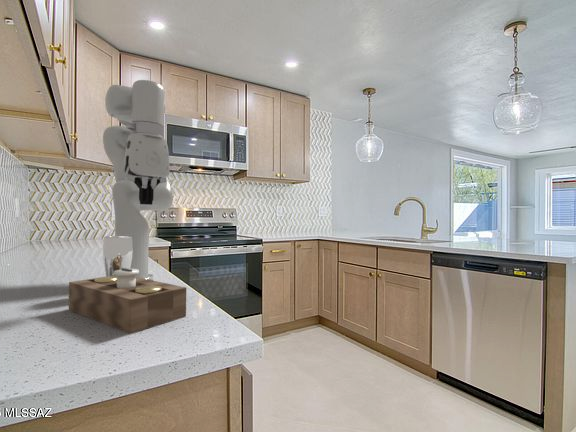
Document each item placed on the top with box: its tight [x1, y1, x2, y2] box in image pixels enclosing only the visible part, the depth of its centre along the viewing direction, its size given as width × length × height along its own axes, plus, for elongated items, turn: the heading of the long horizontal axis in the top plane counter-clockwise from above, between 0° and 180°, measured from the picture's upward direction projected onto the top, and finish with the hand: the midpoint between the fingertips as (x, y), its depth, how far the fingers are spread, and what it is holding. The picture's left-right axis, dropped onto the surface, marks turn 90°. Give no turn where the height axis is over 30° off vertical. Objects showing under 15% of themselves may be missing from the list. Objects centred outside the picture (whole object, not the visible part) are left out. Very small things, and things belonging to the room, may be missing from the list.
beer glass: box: [102, 235, 133, 277], centre depth 85 cm, size 7×7×15 cm
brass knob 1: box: [93, 276, 117, 284], centre depth 73 cm, size 5×5×6 cm
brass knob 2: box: [135, 286, 162, 295], centre depth 64 cm, size 5×5×6 cm
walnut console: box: [68, 276, 187, 334], centre depth 69 cm, size 24×12×6 cm, turn 57°
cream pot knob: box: [114, 268, 139, 289], centre depth 69 cm, size 5×5×6 cm
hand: (146, 204), depth 83 cm, fingers closed
